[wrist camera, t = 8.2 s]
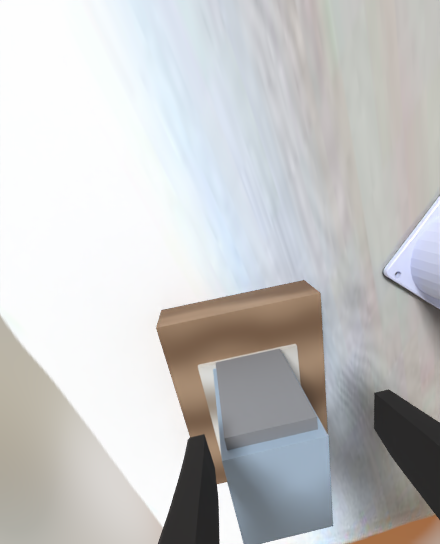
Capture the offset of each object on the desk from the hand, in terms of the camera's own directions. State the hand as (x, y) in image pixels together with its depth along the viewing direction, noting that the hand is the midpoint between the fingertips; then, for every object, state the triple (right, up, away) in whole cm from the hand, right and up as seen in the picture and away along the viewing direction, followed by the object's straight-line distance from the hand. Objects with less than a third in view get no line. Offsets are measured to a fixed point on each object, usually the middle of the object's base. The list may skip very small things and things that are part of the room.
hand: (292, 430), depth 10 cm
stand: (-1, -3, +11) cm, 11 cm away
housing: (0, -3, +8) cm, 8 cm away
